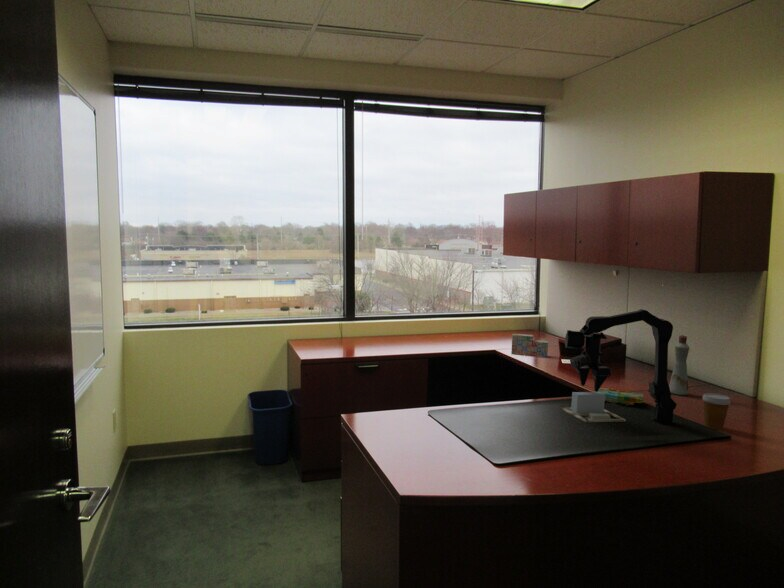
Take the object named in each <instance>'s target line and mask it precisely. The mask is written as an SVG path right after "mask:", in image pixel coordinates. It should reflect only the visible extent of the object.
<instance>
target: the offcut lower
mask: <svg viewBox="0 0 784 588" xmlns="http://www.w3.org/2000/svg"><path fill="white" fill-rule="evenodd" d="M585 419H586V420H598V419H591V418H590V417H589V416H585ZM610 419H613V418H612V417H610Z"/></svg>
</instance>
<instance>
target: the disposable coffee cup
mask: <svg viewBox="0 0 784 588" xmlns="http://www.w3.org/2000/svg"><path fill="white" fill-rule="evenodd" d="M701 398H702V401H703V402H702V405H703V421H704V422H703V425H704V426H706V427H705V428H708V429H711V428H712V429H713V430H718V431H719V430H723V429H724V427H725V426H724V425H725V423H726V418H727V414H728V410H729V407H730V406H729V405H730V404H731V400H730V397H729V396H727V395H723V394H720V393H713V392H712V393H708V392H707V393H703V395H702V397H701Z"/></svg>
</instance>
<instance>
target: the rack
mask: <svg viewBox="0 0 784 588" xmlns="http://www.w3.org/2000/svg"><path fill="white" fill-rule="evenodd" d="M561 410H562V411H564V412H566V413H568V414H570V415H571V416H573V417H575V418H577V419H579V420H581V421H583V422H584V423H614V422H616V423H618V422H627V419H626V418H624V417H621V416H619V415H617V414H615V413H614V412H611V411H609V410H607V409H605V408H604V413H607V414H608V415H610V416H611V417H614V418H612V419H599V420H589V419H587V418H585V417H589V413H576V414H575V413H574V412H572V411H571V406H570V407H561Z"/></svg>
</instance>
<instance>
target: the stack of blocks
mask: <svg viewBox="0 0 784 588" xmlns="http://www.w3.org/2000/svg"><path fill="white" fill-rule="evenodd" d="M511 335H512V337H511V352H510V353H511V355H515V356H524V355H525V357H534V356H543V357H542V358H546V357H547V358H548V349H549V341H548V340H535V339H534V335H533V334H523V333H512V334H511Z"/></svg>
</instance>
